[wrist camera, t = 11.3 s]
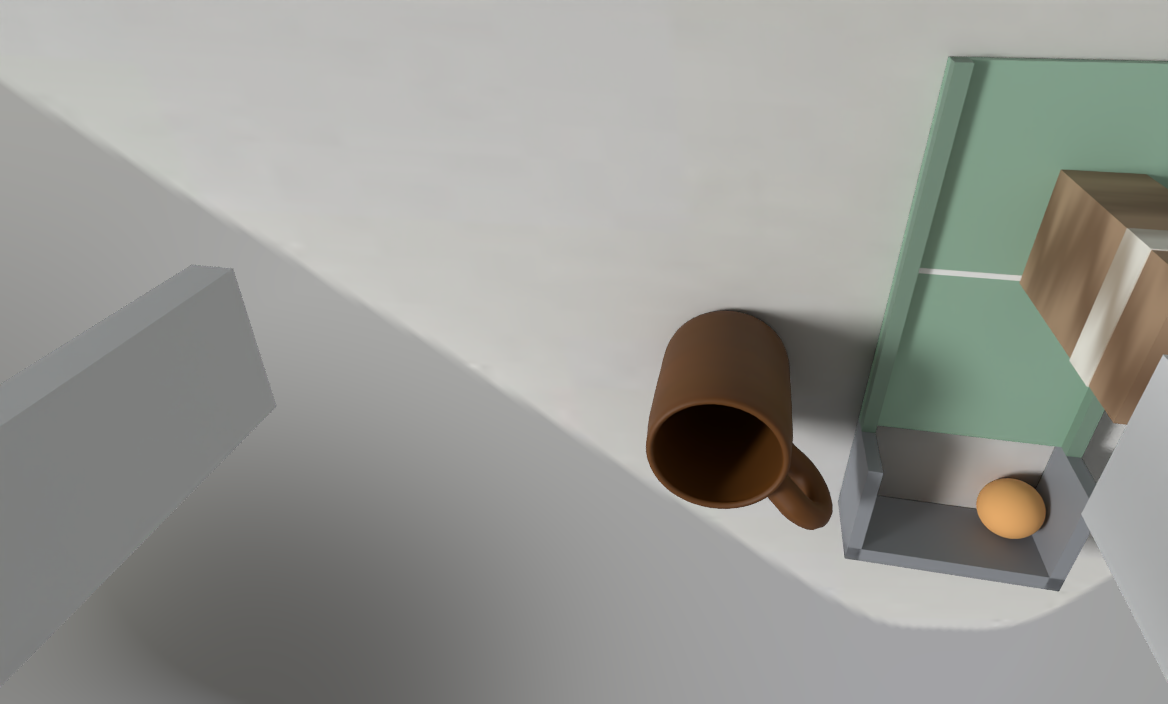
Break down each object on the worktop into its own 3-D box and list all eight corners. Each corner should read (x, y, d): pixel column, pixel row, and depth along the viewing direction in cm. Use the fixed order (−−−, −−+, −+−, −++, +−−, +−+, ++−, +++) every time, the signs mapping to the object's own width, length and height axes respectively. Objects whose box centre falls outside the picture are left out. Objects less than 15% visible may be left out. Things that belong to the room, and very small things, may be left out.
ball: (1011, 491, 40) (1021, 552, 40) (1055, 476, 41) (1064, 535, 41) (958, 482, 43) (967, 538, 44) (999, 468, 45) (1008, 522, 45)
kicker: (1060, 168, 33) (1184, 278, 23) (1147, 173, 32) (1315, 289, 22) (1018, 283, 36) (1111, 423, 26) (1097, 290, 36) (1223, 436, 26)
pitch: (948, 56, 32) (974, 79, 28) (1250, 63, 30) (1327, 88, 26) (838, 501, 47) (844, 558, 43) (1032, 528, 45) (1058, 591, 41)
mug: (867, 402, 43) (889, 512, 35) (776, 465, 47) (777, 576, 39) (723, 281, 41) (712, 369, 33) (640, 358, 45) (613, 453, 37)
